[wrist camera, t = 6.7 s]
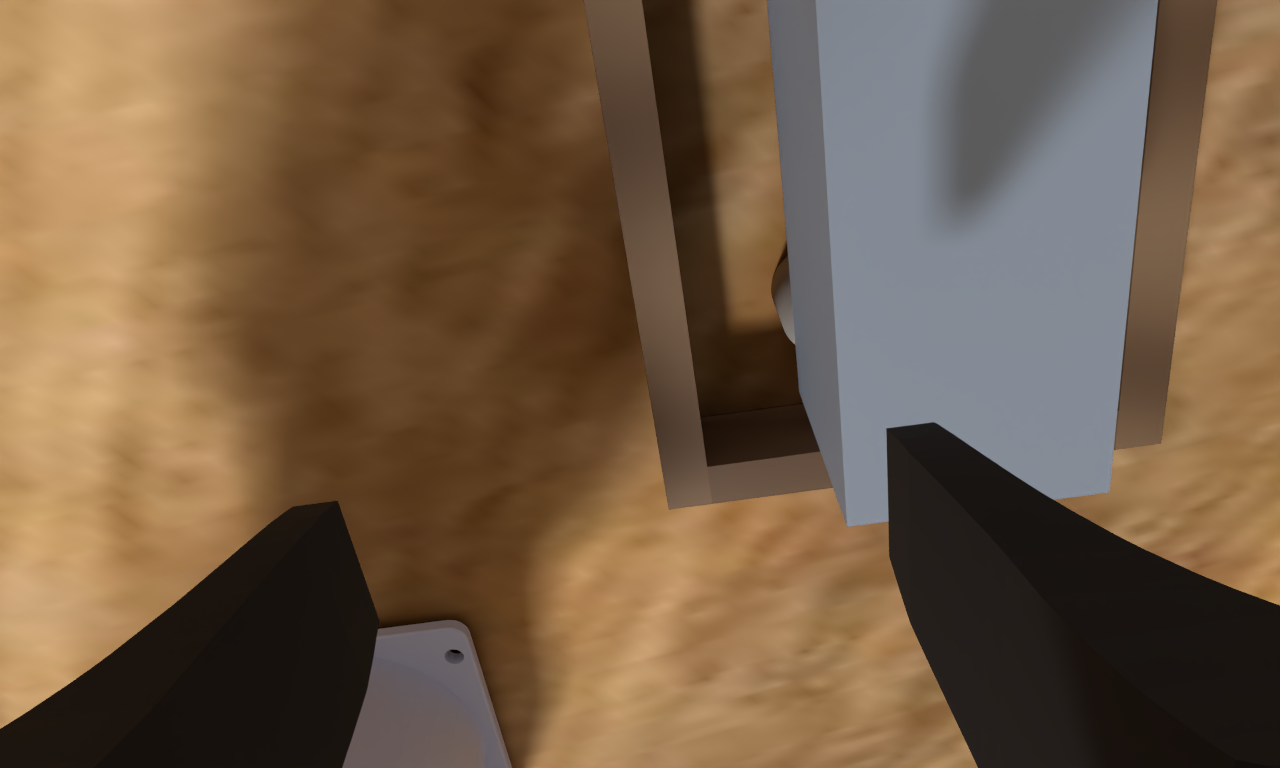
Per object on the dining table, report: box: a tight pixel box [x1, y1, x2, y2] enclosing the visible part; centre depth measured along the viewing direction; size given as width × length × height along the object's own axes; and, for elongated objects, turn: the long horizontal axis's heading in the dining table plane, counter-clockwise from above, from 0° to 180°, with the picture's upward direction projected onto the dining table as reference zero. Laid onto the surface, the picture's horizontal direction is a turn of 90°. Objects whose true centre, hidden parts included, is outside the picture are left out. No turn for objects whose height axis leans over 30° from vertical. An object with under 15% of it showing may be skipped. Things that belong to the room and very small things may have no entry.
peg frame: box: [584, 0, 1217, 509], centre depth 18 cm, size 16×11×2 cm
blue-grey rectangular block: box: [767, 0, 1158, 527], centre depth 16 cm, size 12×4×5 cm, turn 9°
